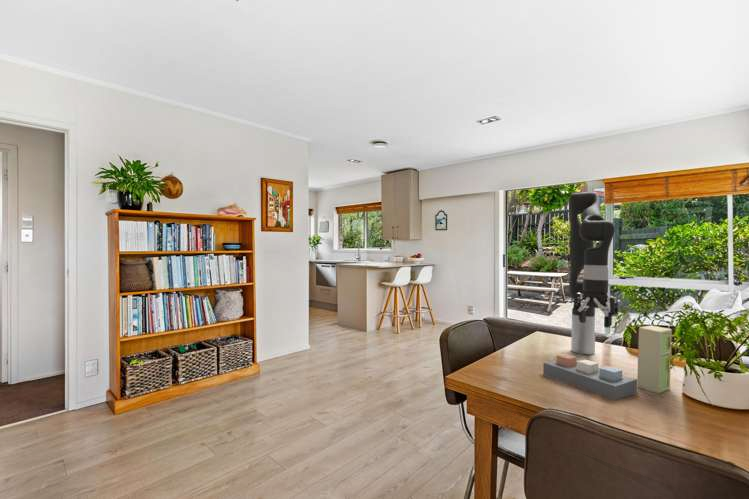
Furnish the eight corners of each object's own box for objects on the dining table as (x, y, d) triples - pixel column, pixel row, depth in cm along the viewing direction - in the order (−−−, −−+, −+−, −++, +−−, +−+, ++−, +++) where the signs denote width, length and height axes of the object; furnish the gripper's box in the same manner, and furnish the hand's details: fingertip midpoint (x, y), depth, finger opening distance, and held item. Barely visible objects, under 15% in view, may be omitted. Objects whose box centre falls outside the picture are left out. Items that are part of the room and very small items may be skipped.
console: (564, 369, 147) (564, 357, 147) (636, 392, 124) (637, 379, 124) (543, 374, 141) (543, 362, 141) (615, 400, 118) (615, 386, 118)
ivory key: (584, 370, 136) (585, 359, 136) (598, 374, 132) (598, 363, 132) (576, 372, 133) (577, 361, 133) (590, 376, 129) (590, 365, 129)
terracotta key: (564, 363, 143) (564, 353, 143) (576, 367, 139) (576, 356, 139) (556, 365, 140) (556, 355, 140) (568, 369, 136) (568, 358, 136)
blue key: (607, 377, 129) (607, 365, 129) (622, 381, 125) (622, 370, 125) (599, 379, 126) (599, 367, 126) (614, 384, 122) (614, 372, 122)
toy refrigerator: (660, 394, 123) (662, 331, 123) (636, 386, 129) (638, 327, 129) (673, 390, 127) (674, 329, 126) (649, 383, 133) (650, 325, 133)
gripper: (623, 279, 124) (622, 328, 124) (582, 276, 136) (581, 320, 136) (610, 280, 120) (609, 330, 120) (569, 276, 133) (568, 321, 133)
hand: (594, 324), depth 128 cm, fingers open, 8 cm apart
